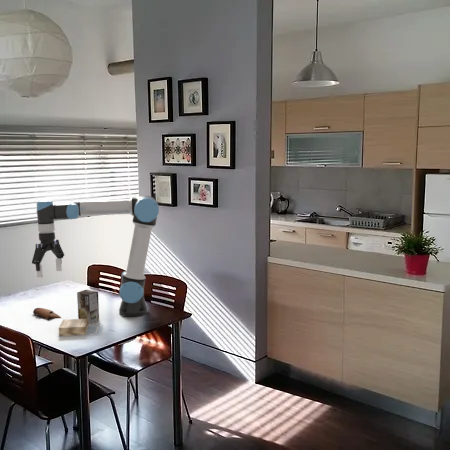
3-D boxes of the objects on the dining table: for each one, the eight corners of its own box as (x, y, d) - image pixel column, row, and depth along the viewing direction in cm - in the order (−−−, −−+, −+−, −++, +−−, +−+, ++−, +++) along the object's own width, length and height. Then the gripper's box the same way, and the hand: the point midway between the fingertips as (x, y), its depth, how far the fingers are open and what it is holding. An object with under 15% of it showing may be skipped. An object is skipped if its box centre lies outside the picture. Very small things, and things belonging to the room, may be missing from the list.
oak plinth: (88, 326, 248) (88, 318, 247) (85, 334, 236) (85, 326, 235) (63, 327, 246) (63, 319, 245) (59, 336, 234) (58, 327, 234)
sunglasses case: (63, 318, 263) (57, 309, 260) (53, 327, 259) (46, 318, 256) (47, 310, 275) (41, 302, 272) (37, 319, 272) (30, 310, 268)
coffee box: (99, 322, 257) (98, 291, 254) (90, 325, 251) (89, 294, 249) (87, 319, 262) (86, 289, 259) (77, 322, 256) (76, 291, 254)
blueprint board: (103, 327, 250) (103, 324, 250) (100, 336, 236) (100, 334, 236) (61, 328, 247) (61, 326, 247) (56, 339, 233) (56, 336, 233)
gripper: (57, 228, 260) (60, 268, 263) (21, 235, 237) (25, 279, 240) (69, 228, 257) (72, 269, 260) (34, 236, 234) (37, 280, 237)
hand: (49, 274), depth 250 cm, fingers open, 13 cm apart
